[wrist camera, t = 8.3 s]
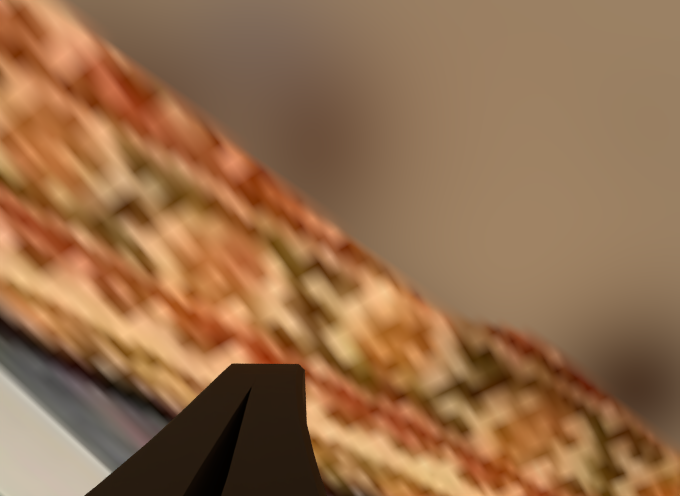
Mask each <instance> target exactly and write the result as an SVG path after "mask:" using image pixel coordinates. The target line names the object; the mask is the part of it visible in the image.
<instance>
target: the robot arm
mask: <svg viewBox="0 0 680 496" xmlns="http://www.w3.org/2000/svg"><path fill="white" fill-rule="evenodd" d="M85 496H327V495H326V492H325V488H324V485H323V482H322V479H321V476H320V473H319V470H318V466H317V463H316V459H315V456H314V452H313V448H312V444H311V439H310V435H309V431H308V427H307V417H306V391H305V370H304V369H303V368H302V367H301V366H300V365H299V364H231V365H230V366H229V367H228V368H227V369H226V370H224V371H223V372H222V373H221V374H220V375H219V376H218V377H217V378H216V379H215V380H214V381H213V382H212V383H211V384H210V385H209V386H208V387H207V388H206V389H204V390H203V391H202V392H201V393H200V394H199V395H198V396H197V397H196V398H195V399H194V400H193V401H192V402H191V403H190V404H189V405H188V406H187V407H186V408H185V409H184V410H183V411H182V412H181V413H179V414H178V415H177V416H176V417H175V418H174V419H173V420H172V421H171V422H170V423H169V424H168V425H166V426H165V427H164V428H163V429H162V430H161V431H160V432H159V433H158V434H157V435H156V436H154V437H153V438H152V439H151V440H150V441H149V442H148V443H147V444H146V445H144V446H143V447H142V448H141V449H140V450H139V451H137V452H136V453H135V454H134V455H133V456H131V457H130V458H129V459H128V460H127V461H126V462H124V463H123V464H122V465H121V466H120V467H118V468H117V469H116V470H115V471H114V472H113V473H111V474H110V475H109V476H108V477H107V478H105V479H104V480H103V481H102V482H101V483H100V484H98V485H97V486H96V487H95V488H93V489H92V490H91V491H90V492H88V493H87V494H86V495H85Z"/></svg>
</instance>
